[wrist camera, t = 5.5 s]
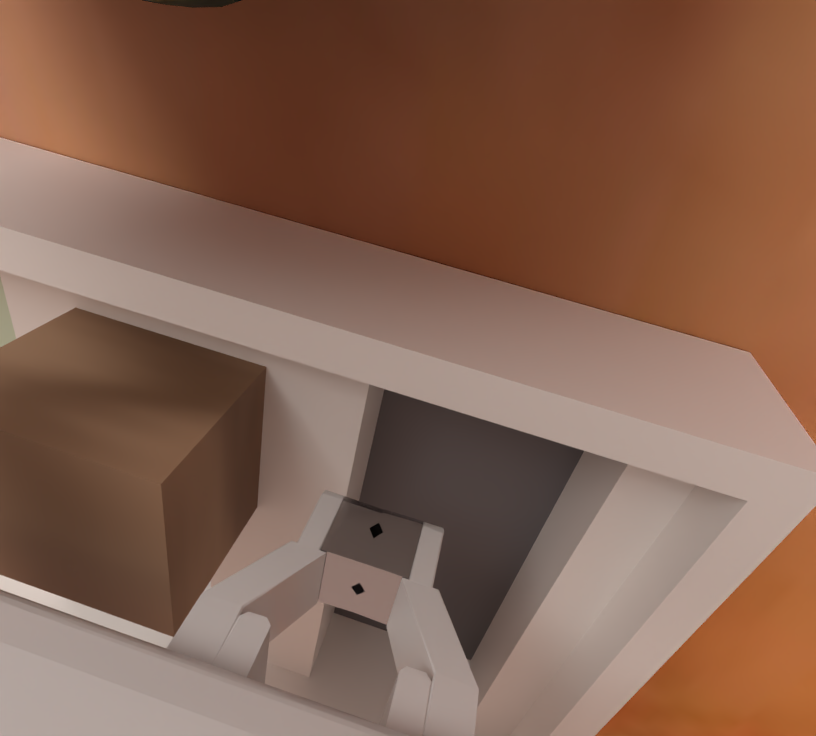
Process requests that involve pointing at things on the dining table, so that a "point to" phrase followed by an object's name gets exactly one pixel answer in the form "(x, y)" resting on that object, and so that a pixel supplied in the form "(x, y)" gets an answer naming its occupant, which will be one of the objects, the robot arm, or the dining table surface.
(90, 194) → the track
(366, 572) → the robot arm
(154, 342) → the walnut block
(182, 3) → the squash
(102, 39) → the dining table surface
